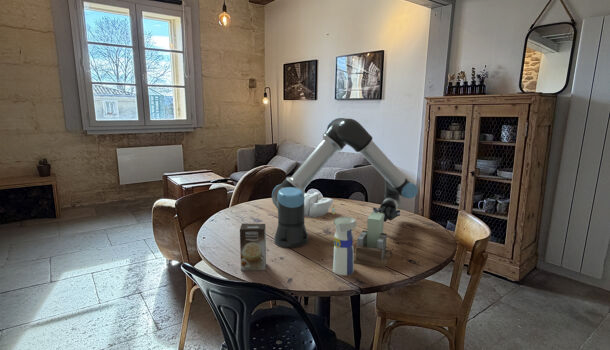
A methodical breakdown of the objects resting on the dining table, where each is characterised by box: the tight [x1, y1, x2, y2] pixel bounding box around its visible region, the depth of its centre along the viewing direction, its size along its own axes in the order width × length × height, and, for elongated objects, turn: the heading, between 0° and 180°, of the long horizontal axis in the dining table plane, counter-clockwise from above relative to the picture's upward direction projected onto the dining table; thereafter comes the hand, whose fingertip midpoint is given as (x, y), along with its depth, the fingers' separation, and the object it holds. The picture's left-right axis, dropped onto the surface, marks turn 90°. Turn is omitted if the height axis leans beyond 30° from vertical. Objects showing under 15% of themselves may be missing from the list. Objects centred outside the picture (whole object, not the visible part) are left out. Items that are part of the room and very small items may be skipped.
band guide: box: [354, 230, 392, 269], centre depth 133 cm, size 15×13×9 cm
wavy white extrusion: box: [304, 191, 335, 218], centre depth 194 cm, size 35×16×11 cm, turn 58°
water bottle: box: [331, 204, 358, 276], centre depth 120 cm, size 8×9×25 cm
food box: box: [239, 223, 267, 271], centre depth 124 cm, size 9×6×16 cm
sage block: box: [366, 211, 385, 249], centre depth 137 cm, size 9×5×14 cm, turn 157°
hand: (380, 222), depth 144 cm, fingers closed
